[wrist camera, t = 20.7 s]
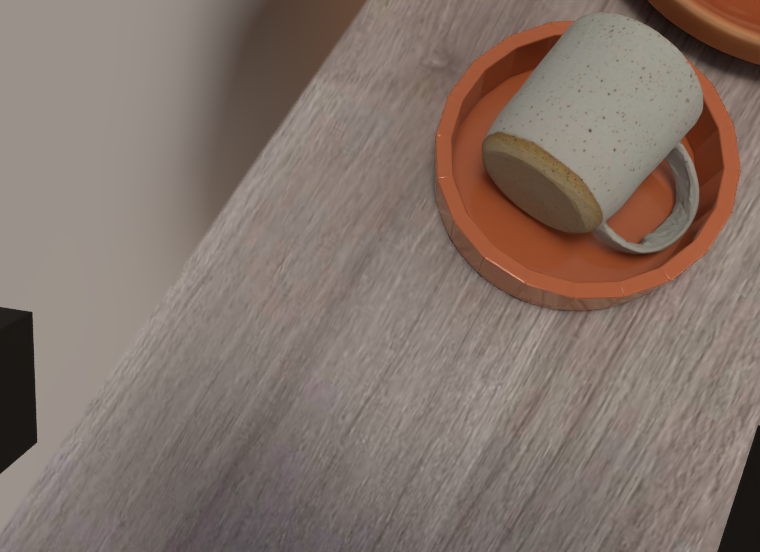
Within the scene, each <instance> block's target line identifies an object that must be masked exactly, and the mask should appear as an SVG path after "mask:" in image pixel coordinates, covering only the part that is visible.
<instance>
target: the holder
mask: <svg viewBox="0 0 760 552" xmlns="http://www.w3.org/2000/svg"><path fill="white" fill-rule="evenodd" d="M573 22H575V21H561V22H551V23H547V24H544V25H541V26H538V27H535V28H532V29H529V30H526V31H523V32H520V33H517V34H514V35H511V36H510V37H507V38H506V39H504V40H503V41H502V42H500V43H499V44H497V45H496V46H495V47H493V48H492V49H490V50H489V51H488V52H486V53H485V54H483V55H482V56H481V57H479V58H478V59H476V60H475V61H474V62H473V63H472V64H471V66H470V67H469V68H468V70H467V71H466V72H465V74H464V75H463V76H462V78H461V79H460V80H459V82H458V83H457V85H456V86H455V87H454V89H453V90H452V91H451V93H450V94H449V96H448V98H447V101H446V104H445V108H444V111H443V114H442V117H441V120H440V123H439V127H438V130H437V133H436V140H435V155H434V171H435V198H436V202H437V205H438V209H439V212H440V215H441V218H442V222H443V224H444V226H445V228H446V230H447V232H448V235H449V237H450V238H451V240H452V242H453V243H454V245H455V246H456V248H457V250H458V251H459V252H460V254H461V255H462V256H463V257H464V258H465V260H466V261H467V262H468V263H469V264H470V266H471V267H473V268H474V269H475V270H476V271H477V272H478V273H479V274H480V275H481V276H482V277H483V278H485V279H486V280H487V281H489V282H490V283H492V284H493V285H494V286H496V287H497V288H499V289H500V290H502V291H504V292H506V293H508V294H510V295H512V296H513V297H515V298H518V299H521V300H523V301H526V302H528V303H531V304H534V305H538V306H542V307H546V308H550V309H558V310H567V311H590V310H597V309H605V308H610V307H613V306H616V305H620V304H624V303H626V302H629V301H631V300H633V299H636V298H639V297H642V296H645V295H647V294H649V293H651V292H653V291H655V290H656V289H658V288H660V287H661V286H663V285H665V284H667V283H668V282H670V281H672V280H673V279H674V278H675V277H677V276H678V275H679V274H681V273H682V272H683V271H684V270H686V269H687V268H688V267H689V266H691V265H692V264H693V263H695V262H696V261H697V260H698V259H700V258H701V257H702V256H704V255H705V254H706V253H707V252H708V251H709V249H710V248H711V246H712V244H713V243H714V241H715V240H716V238H717V236H718V235H719V233H720V232H721V230H722V228H723V227H724V225H725V224H726V222H727V220H728V219H729V217H730V216H731V213H732V210H733V205H734V200H735V196H736V191H737V186H738V181H739V176H740V171H741V170H740V161H739V154H738V148H737V141H736V134H735V127H734V126H733V122H732V120H731V118H730V116H729V114H728V112H727V111H726V109H725V107H724V105H723V103H722V101H721V99H720V97H719V95H718V93H717V91H716V89H715V87H714V86H713V84H712V83H711V82H710V81H709V80H708V79H707V78H706V77H705V76H704V75H703V74H702V73H701V72H700V71H699V70H698V69H697V68H696V67H695V66H694V65H693V64H692V63H691V62H690V61H689V60H688V59H687V58H686V57H685V56H684V55H683V56H684V57H685V58H686V60H687V61H688V62H689V64H690V65H691V67H692V68H693V70H694V72H695V74H696V76H697V78H698V80H699V82H700V84H701V89H702V92H703V110H702V113H701V115H700V117H699V118H698V120H697V122H696V124H695V125H694V126H693V127H692V128H691V129H690V130H689V131H688V132H687V134H686V135H685V136H684V137H683V138H682V139H681V143H682V144H683V146H684V147H685V149H686V151H687V152H688V154H689V156H690V158H691V160H692V162H693V165H694V168H695V171H696V174H697V178H698V184H699V204H698V209H697V213H696V215H695V218H694V220H693V222H692V224H691V225H690V227H689V228H688V229H687V231H686V232H685V233H684V234H683V235H682V236H681V237H680V238H679V239H678V240H677V241H676V242H675V243H673V244H672V245H671V246H669V247H667V248H665V249H664V250H661V251H658V252H654V253H650V254H630V253H624V252H621V251H617V250H614V249H612V248H611V247H609V246H607V245H606V244H604V243H602V242H601V241H599V240H598V239H597V238H596V237H595V235H594V234H593V233H592V232H591V231H590V232H587V233H580V234H575V233H566V232H562V231H559V230H556V229H554V228H552V227H549V226H547V225H545V224H543V223H542V222H540V221H538V220H537V219H535V218H533V217H532V216H530V215H529V214H528V213H526V212H525V211H524V210H522V209H521V208H519V207H518V206H517V205H516V204H515V203H514V202H513V201H511V200H510V199H509V198H508V197H507V196H506V195H505V194H504V193H503V192H502V191H501V190H500V189H499V188H498V187H497V185H496V184H495V183H494V181H493V180H492V179H491V177H490V176H489V174H488V172H487V170H486V168H485V166H484V163H483V159H482V144H483V141H484V138H485V136H486V134H487V133H488V131H489V130H490V128H491V126H492V124H493V122H494V121H495V119H496V118H497V116H498V115H499V113H500V112H501V111H502V109H503V108H504V107H505V106H506V105H507V103H508V102H509V101H510V100H511V99H512V98H513V96H514V95H515V94H516V93H517V92H518V91H519V89H520V88H521V87H522V85H523V84H524V83H525V81H526V80H527V79H528V77H529V76H530V75H531V73H532V72H533V71H534V70H535V68H536V67H537V66H538V65H539V63H540V62H541V61H542V60H543V59H544V57H545V56H546V55H547V54H548V53H549V51H550V50H551V49H552V48H553V46H554V45H555V44H556V43H557V41H558V40H559V39H560V37H561V36H562V35H563V33H564V32H565V31H566V30H567V28H568V27H569V26H570V25H571V24H572V23H573ZM675 202H676V187H675V180H674V177H673V174H672V171H671V169H670V167H669V165H668V163H667V161H666V159H665V158H664V159H663V161H662V162H661V163H660V164H659V165H658V166H657V167H656V168H655V169H654V170H653V171H652V172H651V173H650V174H649V175H648V176H647V177H646V178H645V180H644V181H643V182H642V183H641V184H640V185H639V187H638V188H637V189H636V190H635V191H634V193H633V194H632V195H631V196H630V197H629V199H628V200H627V201H626V202H625V204H624V205H623V206H622V207H621V208H620V209H619V210H618V211H617V212H616V213H615V214H614V215H613V216H612V217H611V218H609V219H608V220H607V221H606V223H607V225H608V227H610V228H611V229H612V230H613V231H614V232H615V233H616V234H617V235H619V236H620V237H622V238H623V239H625V240H626V241H627V242H631V243H635V244H640V243H641V242H642V240H643V238H644V237H645V235H646V234H650V233H652V232H653V231H655V230H656V229H657V228H658V227H659V226H660V225H661V224H662V223H663V222H664V221H665V220H666V219H667V218H668V217H669V216H670V214H671V213H672V210H673V208H674V206H675Z"/></svg>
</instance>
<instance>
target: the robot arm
mask: <svg viewBox="0 0 760 552" xmlns="http://www.w3.org/2000/svg"><path fill="white" fill-rule="evenodd" d="M36 443H37V423H36V398H35V371H34V344H33V318H32V312H28V311H21V310H16V309H9V308H2V307H0V474H1V473H2V472H3V471H4V470H5V469H6V468H8V467H9V466H10V465H11V464H12V463H13V462H15V461H16V460H17V459H18V458H19V457H20V456H22V455H23V454H24V453H25V452H26V451H27V450H29V449H30V448H31V447H32V446H33V445H35V444H36ZM718 552H760V425H758V427H757V430H756V433H755V437H754V440H753V443H752V446H751V449H750V452H749V455H748V458H747V461H746V465H745V468H744V471H743V474H742V477H741V480H740V483H739V486H738V489H737V493H736V496H735V499H734V502H733V505H732V508H731V511H730V514H729V517H728V520H727V524H726V527H725V530H724V533H723V536H722V539H721V542H720V545H719V548H718Z"/></svg>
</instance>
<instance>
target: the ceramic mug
mask: <svg viewBox="0 0 760 552" xmlns="http://www.w3.org/2000/svg"><path fill="white" fill-rule="evenodd" d="M702 110H703V92H702V89H701V84H700V82H699V80H698V78H697V76H696V74H695V72H694V70H693V68H692V67H691V65H690V64H689V62H688V61H687V60H686V58H685V57H684V56H683V54H682V53H681V52H680V51H679V50H678V49H677V48H676V47H675V46H674V45H673V44H672V43H671V42H670V41H669V40H667V39H666V38H665V37H663V36H662V35H661V34H660V33H658V32H657V31H655V30H654V29H652V28H651V27H649V26H647V25H645V24H643V23H641V22H639V21H637V20H634V19H631V18H628V17H626V16H623V15H620V14H614V13H593V14H589V15H585V16H583V17H581V18H579V19H577V20H576V21H575V22H573V23H572V24H571V25H570V26H569V27H568V28H567V30H566V31H565V32H564V33H563V35H562V36H561V37H560V39H559V40H558V41H557V43H556V44H555V45H554V46H553V48H552V49H551V50H550V51H549V53H548V54H547V55H546V56H545V57H544V59H543V60H542V61H541V62H540V63H539V65H538V66H537V67H536V68H535V70H534V71H533V72H532V73H531V75H530V76H529V77H528V79H527V80H526V81H525V83H524V84H523V85H522V87H521V88H520V89H519V91H518V92H517V93H516V94H515V95H514V96H513V98H512V99H511V100H510V101H509V102H508V103H507V105H506V106H505V107H504V108H503V109H502V111H501V112H500V113H499V115H498V116H497V118H496V119H495V121H494V122H493V124H492V126H491V128H490V130H489V131H488V133H487V134H486V136H485V138H484V141H483V144H482V159H483V163H484V166H485V168H486V170H487V172H488V174H489V176H490V177H491V179H492V180H493V181H494V183H495V184H496V185H497V187H498V188H499V189H500V190H501V191H502V192H503V193H504V194H505V195H506V196H507V197H508V198H509V199H510V200H511V201H513V202H514V203H515V204H516V205H517V206H518V207H519V208H521V209H522V210H524V211H525V212H526V213H528V214H529V215H530V216H532V217H533V218H535V219H537V220H538V221H540V222H542V223H543V224H545V225H547V226H549V227H552V228H554V229H556V230H559V231H562V232H566V233H575V234H580V233H587V232H590V231H591V232H592V233H593V234H594V235H595V237H596V238H597V239H598V240H599V241H601V242H602V243H604V244H606V245H607V246H609V247H611V248H612V249H614V250H617V251H621V252H624V253H630V254H650V253H654V252H658V251H661V250H664V249H665V248H667V247H669V246H671V245H672V244H673V243H675V242H676V241H677V240H678V239H679V238H680V237H681V236H682V235H683V234H684V233H685V232H686V231H687V229H688V228H689V227H690V225H691V224H692V222H693V220H694V218H695V215H696V213H697V209H698V204H699V184H698V178H697V174H696V171H695V168H694V165H693V162H692V160H691V158H690V156H689V154H688V152H687V151H686V149H685V147H684V146H683V144H682V143H681V139H682V138H683V137H684V136H685V135H686V134H687V132H688V131H689V130H690V129H691V128H692V127H693V126H694V125H695V124H696V122H697V120H698V118H699V117H700V115H701V113H702ZM664 158H665V159H666V161H667V163H668V165H669V167H670V169H671V171H672V174H673V177H674V180H675V187H676V202H675V206H674V208H673V210H672V213H671V214H670V216H669V217H668V218H667V219H666V220H665V221H664V222H663V223H662V224H661V225H660V226H659V227H658V228H657V229H656V230H655V231H653V232H652V233H650V234H646V235H645V237H644V238H643V240H642V242H641V243H640V244H635V243H631V242H627V241H626V240H625V239H623V238H622V237H620V236H619V235H617V234H616V233H615V232H614V231H613V230H612V229H611V228H610V227H608V225H607V223H606V221H607V220H608V219H609V218H611V217H612V216H613V215H614V214H615V213H616V212H617V211H618V210H619V209H620V208H621V207H622V206H623V205H624V204H625V202H626V201H627V200H628V199H629V197H630V196H631V195H632V194H633V193H634V191H635V190H636V189H637V188H638V187H639V185H640V184H641V183H642V182H643V181H644V180H645V178H646V177H647V176H648V175H649V174H650V173H651V172H652V171H653V170H654V169H655V168H656V167H657V166H658V165H659V164H660V163H661V162H662V161H663V159H664Z"/></svg>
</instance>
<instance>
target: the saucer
mask: <svg viewBox="0 0 760 552" xmlns="http://www.w3.org/2000/svg"><path fill="white" fill-rule="evenodd" d="M647 1H648V2H649V3H650V4H651V5H652V6H653V7H655V8H656V9H657V10H658V11H659V12H660V13H661V14H662V15H664V16H665V17H666V18H667V19H668V20H670V21H671V22H672V23H674V24H675V25H676V26H678V27H679V28H681V29H682V30H684V31H685V32H687V33H688V34H690V35H692V36H693V37H695V38H696V39H698V40H700V41H702V42H703V43H705V44H707V45H709V46H711V47H713V48H716V49H718V50H720V51H722V52H724V53H726V54H729V55H732V56H734V57H737V58H740V59H743V60H745V61H748V62H752V63H755V64H759V65H760V0H647Z"/></svg>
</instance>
